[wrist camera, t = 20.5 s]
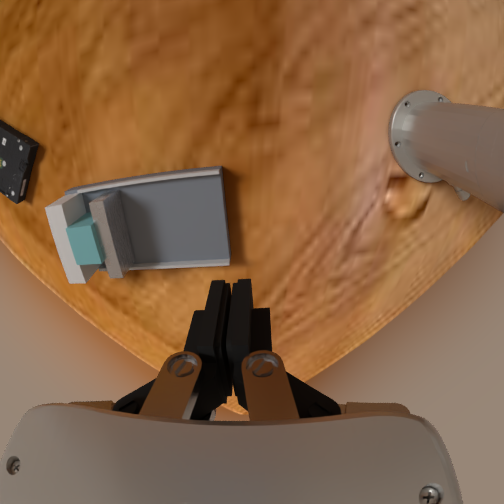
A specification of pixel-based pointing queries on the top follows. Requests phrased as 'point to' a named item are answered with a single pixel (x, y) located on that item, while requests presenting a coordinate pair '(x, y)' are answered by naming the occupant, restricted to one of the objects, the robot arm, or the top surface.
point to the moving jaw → (112, 233)
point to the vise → (154, 220)
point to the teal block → (84, 241)
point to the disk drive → (15, 162)
